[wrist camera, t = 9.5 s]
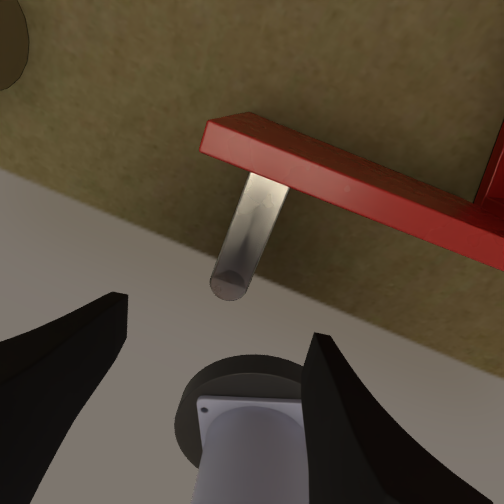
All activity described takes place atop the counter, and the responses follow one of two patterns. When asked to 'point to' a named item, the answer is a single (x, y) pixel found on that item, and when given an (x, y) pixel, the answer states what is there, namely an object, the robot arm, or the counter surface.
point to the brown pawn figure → (12, 42)
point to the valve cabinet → (493, 181)
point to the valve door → (330, 197)
